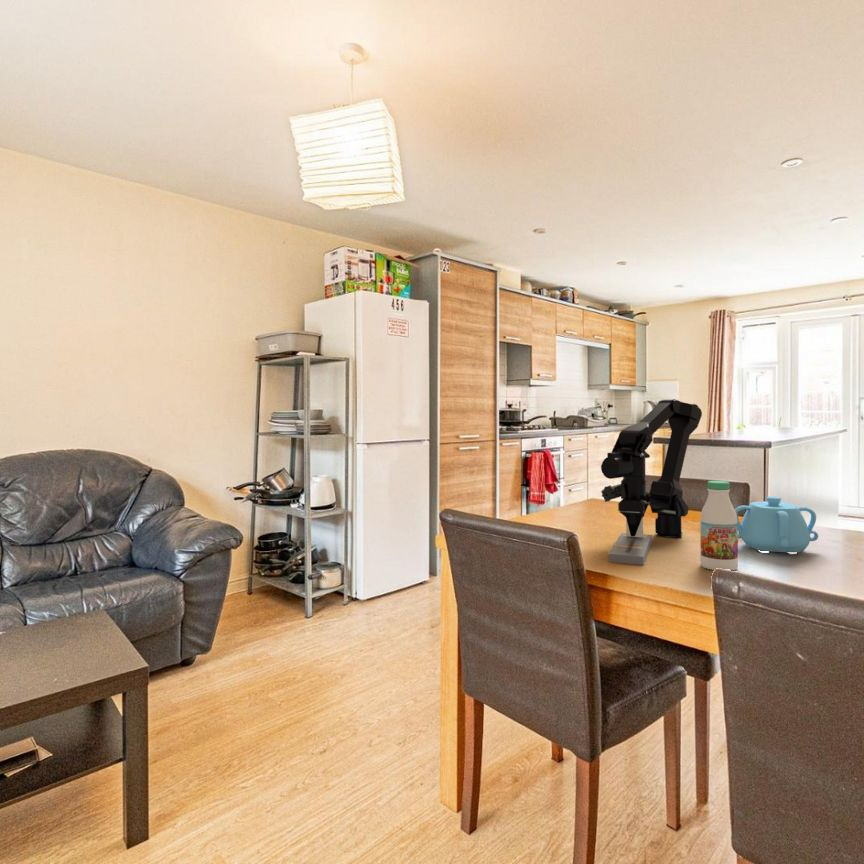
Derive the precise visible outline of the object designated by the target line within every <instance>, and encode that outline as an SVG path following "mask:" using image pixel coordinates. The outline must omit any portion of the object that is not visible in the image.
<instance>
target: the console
mask: <svg viewBox="0 0 864 864" xmlns="http://www.w3.org/2000/svg"><path fill="white" fill-rule="evenodd" d="M652 543H653V535H652V534H644V533H643V537H642V538H640V537H627V536H626V532H620V534H619V536H618V538H617V539H616V541H615V542H614V544H613V546H612V547H611V548H610V550H609V552H608V555H607V557H608V562H609V563H615V564H617V563H619V564H626V563H627V564H628V565H638V566H639V565H640V566H645V563H646V560H647V557H648V554H649V552H650V548H651V545H652ZM627 564H626V565H627Z"/></svg>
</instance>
